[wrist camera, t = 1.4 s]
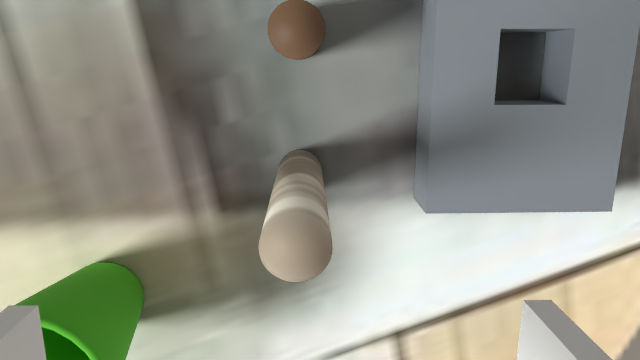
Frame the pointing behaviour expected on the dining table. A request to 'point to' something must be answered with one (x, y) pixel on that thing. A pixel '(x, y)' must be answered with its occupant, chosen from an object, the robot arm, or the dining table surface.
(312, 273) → the long pin
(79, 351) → the cup
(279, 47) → the short pin
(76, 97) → the dining table surface
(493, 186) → the grey block with hole
